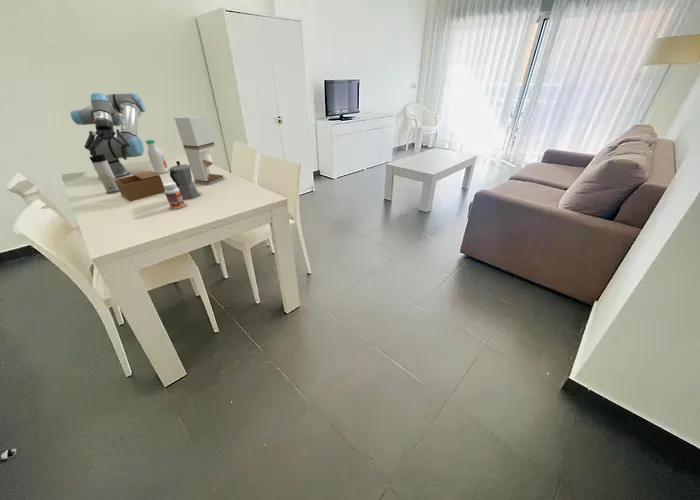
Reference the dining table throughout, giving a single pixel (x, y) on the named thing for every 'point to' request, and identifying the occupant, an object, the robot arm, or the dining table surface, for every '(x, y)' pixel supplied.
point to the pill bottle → (173, 195)
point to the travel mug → (103, 166)
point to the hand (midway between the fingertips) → (110, 160)
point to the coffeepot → (183, 180)
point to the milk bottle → (156, 157)
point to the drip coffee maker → (197, 146)
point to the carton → (140, 185)
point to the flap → (107, 175)
